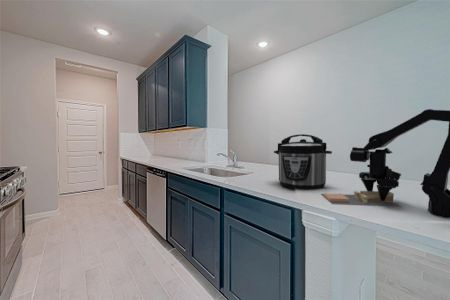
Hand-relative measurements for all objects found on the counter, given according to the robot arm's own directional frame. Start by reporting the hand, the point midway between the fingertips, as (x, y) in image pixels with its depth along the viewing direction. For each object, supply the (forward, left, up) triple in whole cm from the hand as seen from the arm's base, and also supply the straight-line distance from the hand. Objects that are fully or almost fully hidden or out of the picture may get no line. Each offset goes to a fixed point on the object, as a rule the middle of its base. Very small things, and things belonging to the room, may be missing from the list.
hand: (376, 197), depth 89 cm
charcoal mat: (+1, +8, -2) cm, 8 cm away
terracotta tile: (0, +13, -1) cm, 13 cm away
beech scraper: (0, 0, -2) cm, 2 cm away
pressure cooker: (+29, +26, -3) cm, 39 cm away
